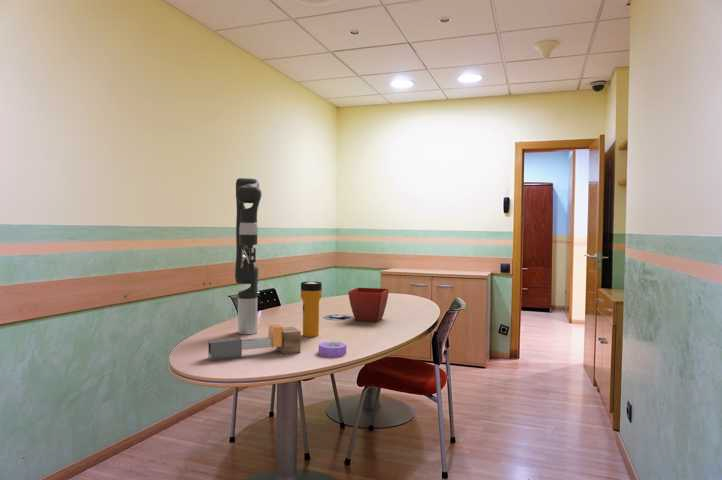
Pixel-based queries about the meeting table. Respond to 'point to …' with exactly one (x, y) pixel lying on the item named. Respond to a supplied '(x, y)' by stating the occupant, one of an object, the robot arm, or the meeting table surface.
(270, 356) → the meeting table surface
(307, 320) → the flashlight
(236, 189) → the robot arm
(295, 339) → the socket block
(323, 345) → the masking tape
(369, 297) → the plant pot
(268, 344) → the slip tube
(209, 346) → the sleeve
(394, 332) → the meeting table surface
